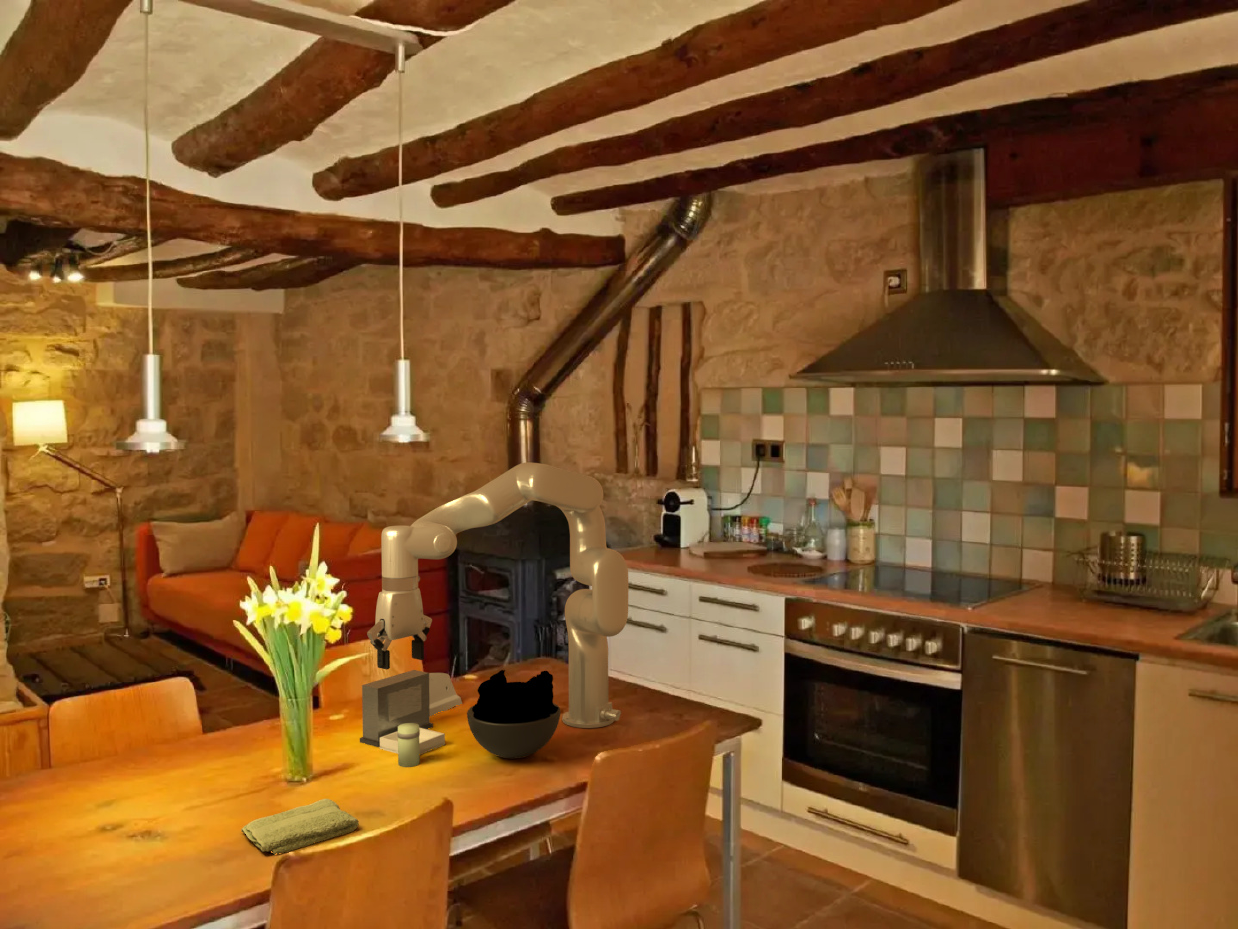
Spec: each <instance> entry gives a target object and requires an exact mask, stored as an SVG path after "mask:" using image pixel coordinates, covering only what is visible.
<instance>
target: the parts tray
mask: <svg viewBox="0 0 1238 929" xmlns="http://www.w3.org/2000/svg"><path fill="white" fill-rule="evenodd" d="M419 730H420V736H419V754H420V755H423V754H425V753H427V751H428V752H430V751H432V750H431V749H433V750H435V749H438V748H440V747H443V746H445V745H446V735H445V732H444V733H443V732H439V731H435V730H431V729H423V728H419ZM442 745H443V746H442ZM434 748H435V749H434ZM379 749H380V750H382V749H383V751H387V752H390V753H394V754H397V755H398V736H397V732H394V733H391V734H389V735H386V736H383V737H380V747H379Z"/></svg>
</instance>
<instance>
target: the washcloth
mask: <svg viewBox="0 0 1238 929" xmlns="http://www.w3.org/2000/svg"><path fill="white" fill-rule="evenodd" d="M358 826H359V820H358V819H357V818H356V817H355V816H353V815H352V814H350V813H349V812H347V811H345V810H342V809H340V806H339V804H337V803H336V802H335V801H334V800H332V799H329V798H323V799H320V800H317V801H315V802H313V803H311V804H307V805H301V806H297V807H294V808H291V809H289V810H286V811H282V812H279V813H275V814H273V815H268V816H265V817H264V816H263V817H260V818H257V819H254V820H252V821H250V822H248V823H247V824H245V825H244V826H243V827H242V828H241V832H242V833H243V834H244V835H245V834H246V835H245V836H246V837H247V838H248V839H249V840H250V841H251V843H252V842H253V843H252V844H254V845H255V846H256V847H257V848H259V849H260V850H261V852H270V851H272V852H273V854H274V856H276V855H275V854H276V853H277V854H279V853H282V854H284V852H285V853H287V852H288V853H289V852H291V851H294V850H297V849H298V850H299V849H301V848H300V847H302V848H304V847H307V846H310V845H309V844H311V845H314V844H315V843H314V842H318V843H320V842H319V841H321V842H324V841H326V840H331V839H333V837H334V838H335V837H340V836H342V835H343V836H344V835H345V834H348V833H352V832H354V831H355V830H357V828H358ZM330 838H331V839H330ZM323 840H324V841H323ZM313 843H314V844H313ZM273 854H272V855H273ZM279 855H280V854H279Z"/></svg>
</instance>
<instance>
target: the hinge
mask: <svg viewBox="0 0 1238 929" xmlns="http://www.w3.org/2000/svg"><path fill="white" fill-rule="evenodd" d="M428 673H429V709H430V716H431V717H433V716H435V715H434V714H436V713H438V712H441V711H444V712H446V711H448V709H449V710H450V708H451V709H453V708H452V707H454V706H456V705H459V706H461V705H460V704H462V705H463V702H462V698H461V696H460V695H458V694H457V692H456V689H455V687H454V684H453V682H452V679H451V676H450V674H448V673H444V672H428ZM456 707H457V706H456ZM454 708H455V707H454ZM441 713H442V712H441ZM432 715H433V716H432ZM436 715H437V714H436Z"/></svg>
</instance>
